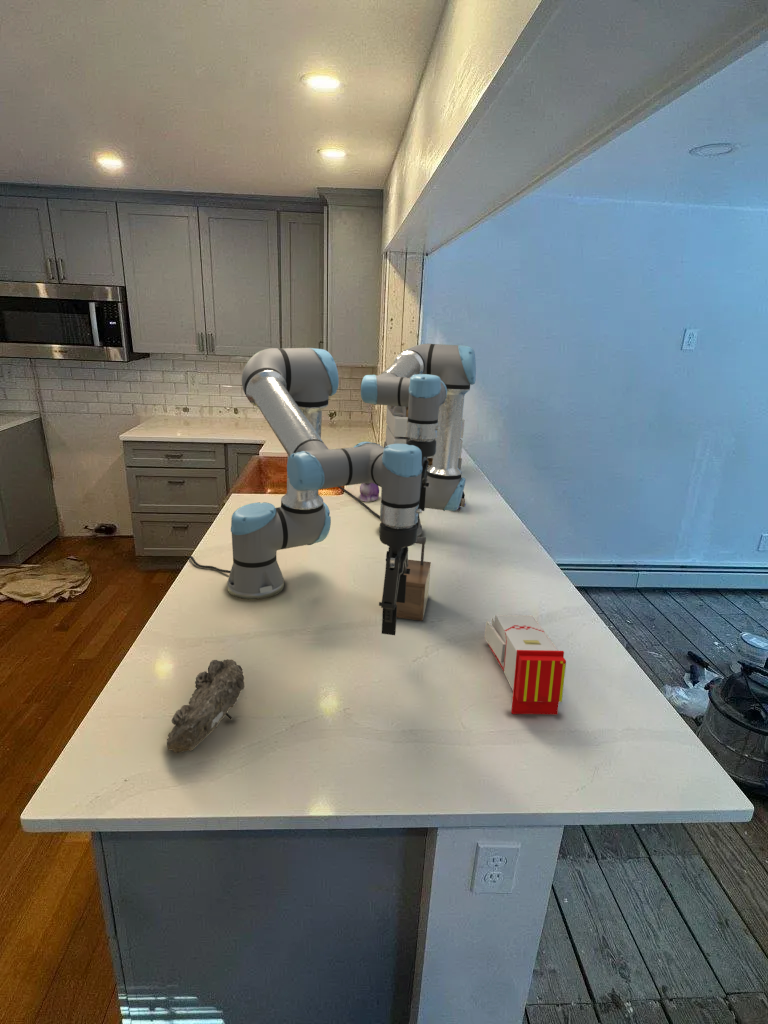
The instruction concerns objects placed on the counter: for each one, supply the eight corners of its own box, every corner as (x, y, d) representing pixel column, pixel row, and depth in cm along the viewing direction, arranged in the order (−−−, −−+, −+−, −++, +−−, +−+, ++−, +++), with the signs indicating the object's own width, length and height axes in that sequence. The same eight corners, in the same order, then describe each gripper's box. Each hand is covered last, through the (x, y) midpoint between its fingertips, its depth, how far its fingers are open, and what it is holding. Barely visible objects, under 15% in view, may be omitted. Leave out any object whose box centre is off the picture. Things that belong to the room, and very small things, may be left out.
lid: (397, 561, 156) (399, 531, 153) (430, 565, 154) (433, 535, 151) (389, 583, 143) (390, 551, 140) (425, 587, 141) (427, 555, 139)
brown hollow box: (395, 593, 158) (397, 562, 155) (428, 597, 157) (430, 566, 154) (387, 616, 146) (389, 583, 143) (422, 621, 145) (425, 587, 142)
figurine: (363, 503, 228) (365, 467, 223) (353, 496, 237) (354, 461, 232) (384, 501, 233) (386, 465, 227) (373, 493, 241) (374, 459, 236)
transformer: (382, 463, 289) (386, 382, 275) (445, 464, 293) (451, 384, 279) (390, 482, 257) (394, 392, 243) (460, 483, 261) (468, 394, 247)
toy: (530, 600, 137) (574, 657, 108) (525, 651, 140) (567, 720, 111) (480, 599, 137) (511, 656, 107) (477, 651, 139) (506, 719, 110)
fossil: (192, 660, 117) (244, 628, 112) (224, 691, 120) (276, 661, 115) (142, 746, 98) (202, 712, 93) (182, 779, 101) (242, 748, 96)
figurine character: (465, 515, 224) (460, 499, 237) (467, 498, 221) (462, 483, 234) (448, 515, 224) (444, 499, 237) (450, 498, 220) (445, 482, 234)
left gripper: (409, 549, 100) (403, 651, 108) (424, 505, 124) (418, 591, 131) (367, 544, 102) (364, 646, 109) (390, 501, 125) (386, 588, 132)
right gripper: (431, 451, 129) (425, 537, 136) (440, 430, 152) (435, 504, 159) (398, 448, 130) (394, 534, 137) (413, 428, 153) (408, 502, 160)
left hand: (393, 616), depth 120 cm, fingers open, 13 cm apart
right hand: (416, 518), depth 148 cm, fingers open, 13 cm apart
